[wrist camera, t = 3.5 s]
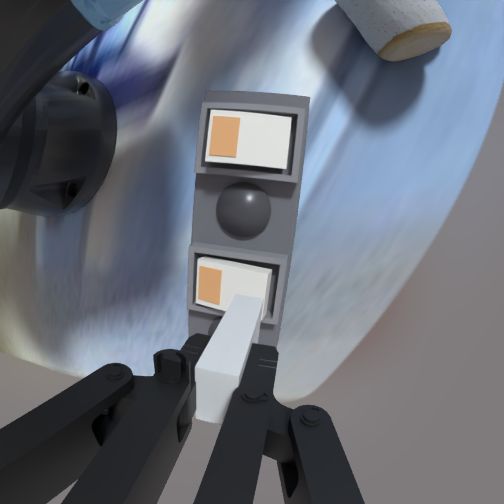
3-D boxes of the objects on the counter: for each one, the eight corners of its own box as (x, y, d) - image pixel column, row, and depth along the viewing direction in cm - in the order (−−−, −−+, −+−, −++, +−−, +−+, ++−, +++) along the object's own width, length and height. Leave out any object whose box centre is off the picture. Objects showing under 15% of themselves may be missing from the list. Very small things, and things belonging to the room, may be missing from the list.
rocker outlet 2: (202, 298, 20) (195, 303, 20) (204, 255, 20) (197, 259, 19) (266, 314, 19) (261, 321, 18) (272, 269, 18) (267, 274, 17)
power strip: (201, 331, 26) (184, 359, 21) (219, 102, 21) (200, 86, 16) (276, 345, 25) (271, 376, 21) (308, 109, 20) (310, 92, 15)
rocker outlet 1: (207, 161, 17) (204, 161, 16) (212, 112, 16) (210, 109, 15) (283, 169, 17) (286, 169, 16) (289, 120, 17) (291, 117, 16)
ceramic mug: (371, 75, 18) (402, 34, 11) (319, 3, 17) (325, -50, 9) (457, 51, 16) (499, 21, 8) (408, -14, 14) (434, -55, 7)
